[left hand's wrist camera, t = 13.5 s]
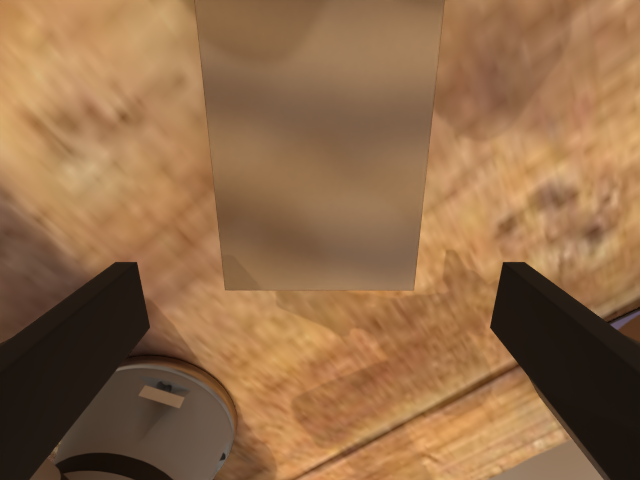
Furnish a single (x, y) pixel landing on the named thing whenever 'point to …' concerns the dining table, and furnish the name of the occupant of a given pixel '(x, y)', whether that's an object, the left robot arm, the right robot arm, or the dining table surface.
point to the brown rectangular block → (319, 138)
